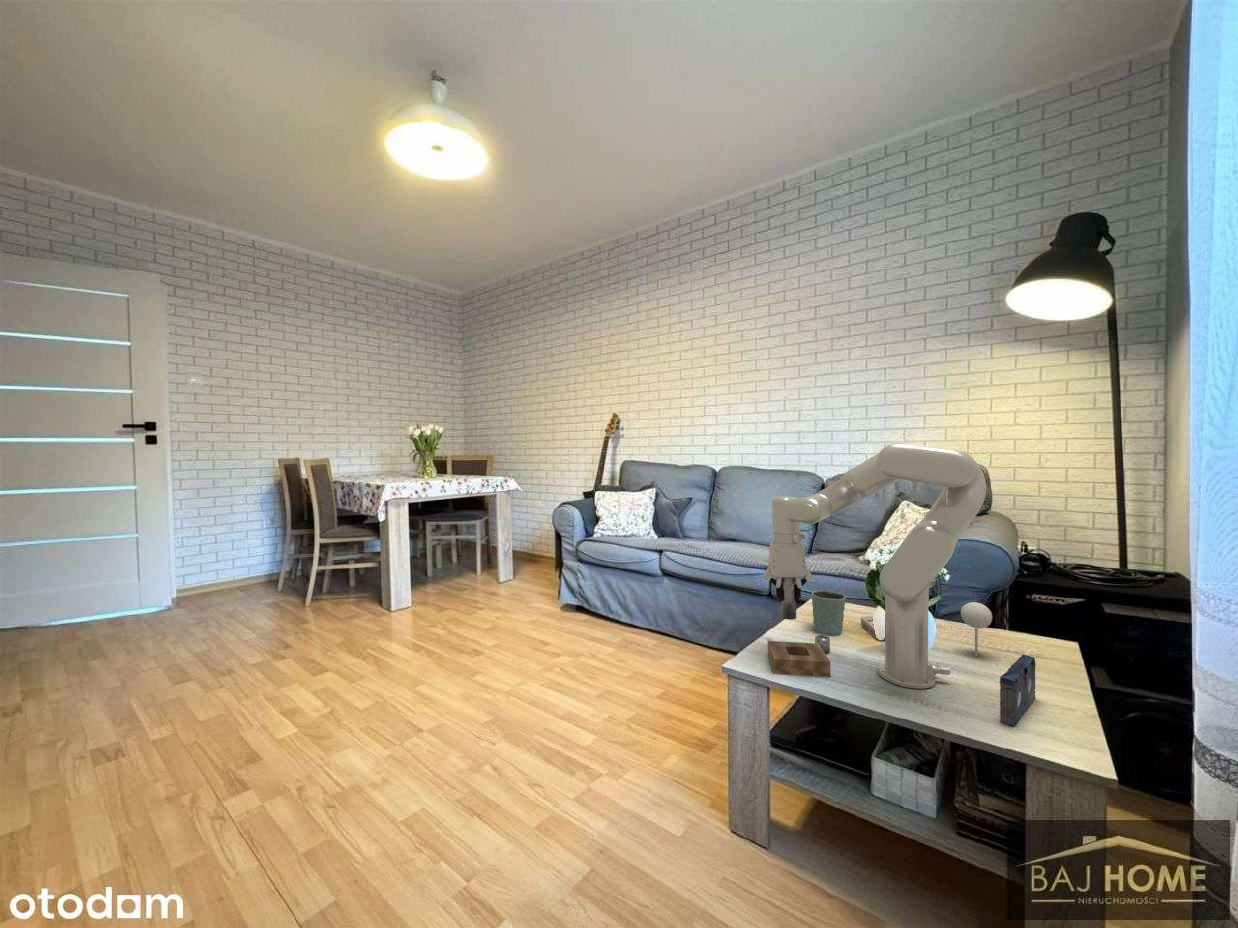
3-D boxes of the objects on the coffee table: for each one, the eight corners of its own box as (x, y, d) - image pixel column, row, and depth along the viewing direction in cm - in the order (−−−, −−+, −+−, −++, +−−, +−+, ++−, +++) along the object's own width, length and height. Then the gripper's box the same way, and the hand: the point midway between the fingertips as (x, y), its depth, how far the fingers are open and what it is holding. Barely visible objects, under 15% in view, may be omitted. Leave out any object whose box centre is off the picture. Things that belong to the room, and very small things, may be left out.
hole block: (819, 657, 135) (818, 643, 134) (830, 677, 123) (830, 662, 123) (767, 654, 137) (767, 641, 137) (774, 673, 125) (774, 658, 125)
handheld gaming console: (887, 615, 159) (909, 632, 144) (887, 625, 159) (909, 643, 144) (859, 614, 160) (878, 631, 145) (859, 624, 160) (878, 642, 145)
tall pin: (794, 615, 141) (793, 575, 141) (797, 619, 137) (796, 578, 137) (780, 615, 142) (779, 575, 142) (783, 619, 138) (781, 578, 138)
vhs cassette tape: (1022, 695, 113) (1022, 653, 113) (1038, 700, 110) (1038, 657, 110) (996, 722, 102) (997, 676, 102) (1014, 728, 99) (1014, 681, 99)
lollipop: (998, 658, 133) (998, 604, 132) (981, 662, 130) (981, 608, 130) (971, 648, 139) (971, 597, 139) (954, 652, 137) (955, 600, 136)
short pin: (827, 649, 140) (827, 635, 140) (831, 654, 136) (831, 641, 136) (813, 648, 141) (813, 635, 141) (816, 654, 137) (816, 640, 137)
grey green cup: (805, 626, 158) (805, 590, 158) (832, 624, 160) (832, 588, 160) (824, 638, 148) (823, 600, 148) (852, 635, 150) (852, 597, 150)
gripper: (813, 536, 142) (815, 597, 142) (755, 536, 145) (757, 596, 145) (819, 540, 134) (821, 604, 135) (758, 540, 137) (760, 604, 137)
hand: (788, 599), depth 140 cm, fingers closed on tall pin, 4 cm apart
